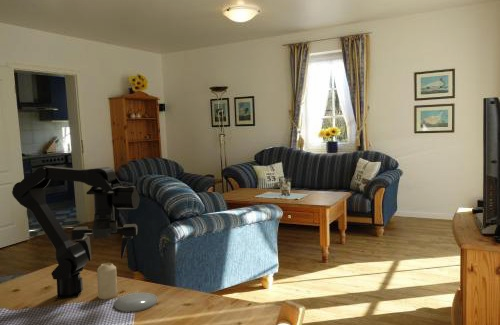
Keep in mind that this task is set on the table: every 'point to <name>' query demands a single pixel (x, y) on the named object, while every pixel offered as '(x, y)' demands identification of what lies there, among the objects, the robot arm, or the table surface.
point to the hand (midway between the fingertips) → (106, 259)
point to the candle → (107, 281)
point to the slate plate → (135, 302)
